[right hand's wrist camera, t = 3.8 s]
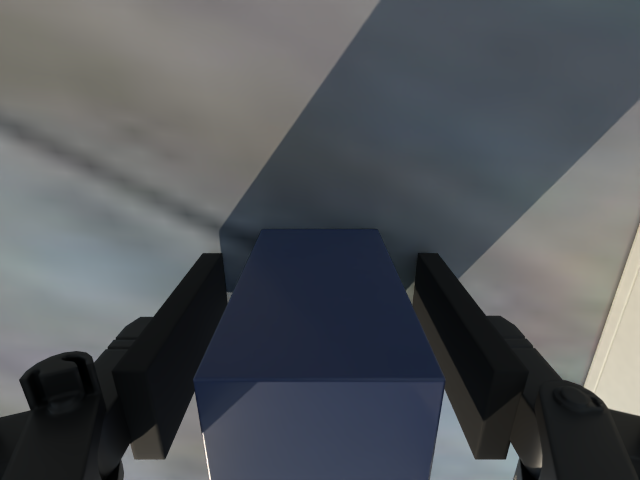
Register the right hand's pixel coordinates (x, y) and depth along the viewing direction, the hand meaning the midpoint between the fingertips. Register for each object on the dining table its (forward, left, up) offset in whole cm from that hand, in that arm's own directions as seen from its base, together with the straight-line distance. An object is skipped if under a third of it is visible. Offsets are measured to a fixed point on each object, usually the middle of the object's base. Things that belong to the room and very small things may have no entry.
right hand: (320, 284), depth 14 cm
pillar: (0, 0, 0) cm, 0 cm away
